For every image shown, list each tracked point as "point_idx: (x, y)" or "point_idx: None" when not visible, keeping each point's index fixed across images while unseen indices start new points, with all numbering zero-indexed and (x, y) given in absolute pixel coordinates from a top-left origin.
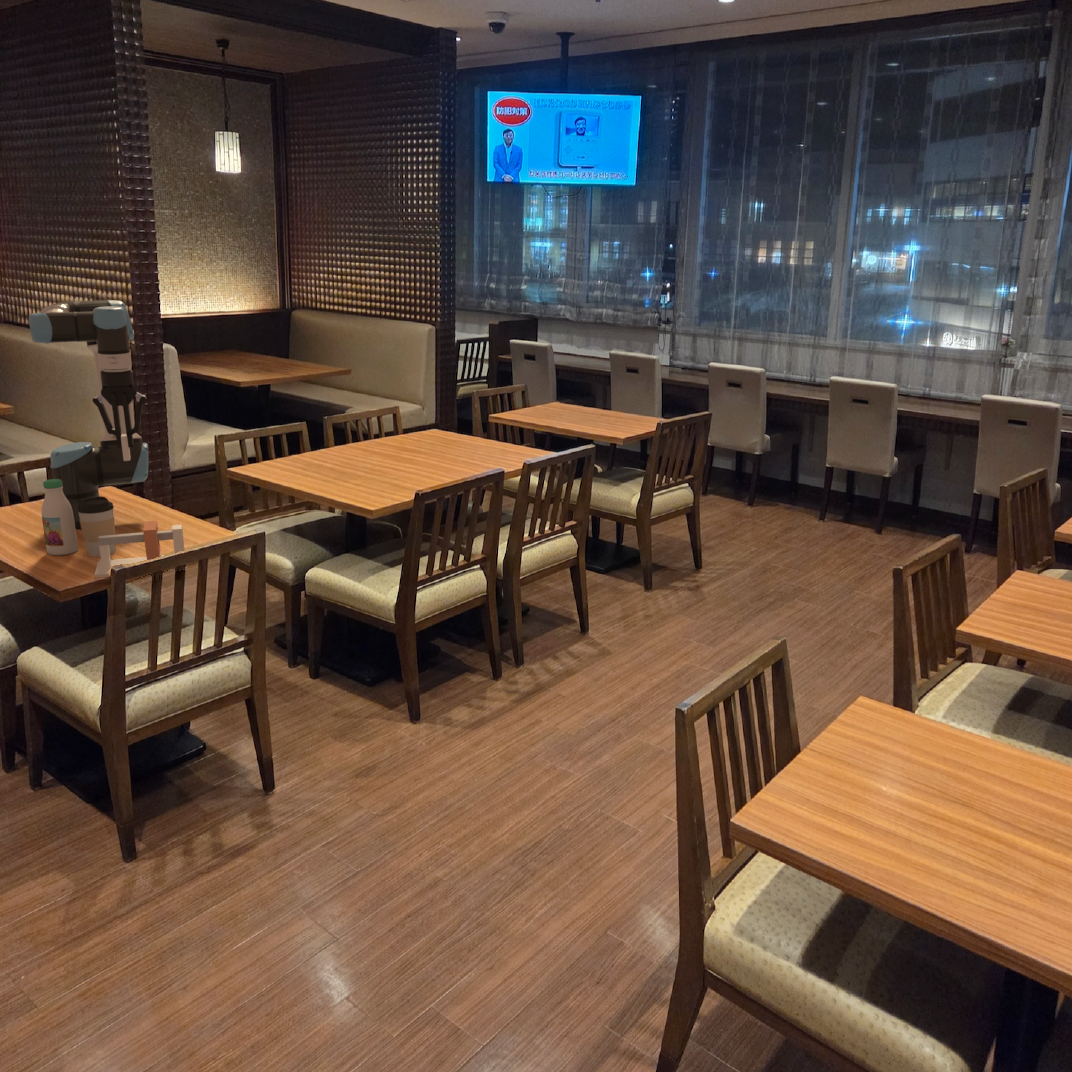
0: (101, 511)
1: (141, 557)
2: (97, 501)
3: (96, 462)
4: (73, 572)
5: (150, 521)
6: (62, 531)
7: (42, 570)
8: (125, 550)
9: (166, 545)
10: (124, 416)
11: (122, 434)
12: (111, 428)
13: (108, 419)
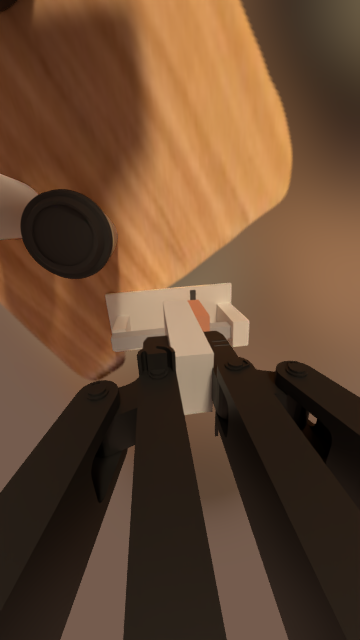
0: (93, 273)
1: (167, 291)
2: (68, 231)
3: None
4: (78, 323)
5: (198, 317)
6: (11, 237)
7: (27, 307)
8: (133, 231)
9: (198, 218)
10: (277, 599)
11: (180, 366)
12: (118, 474)
13: (72, 562)
